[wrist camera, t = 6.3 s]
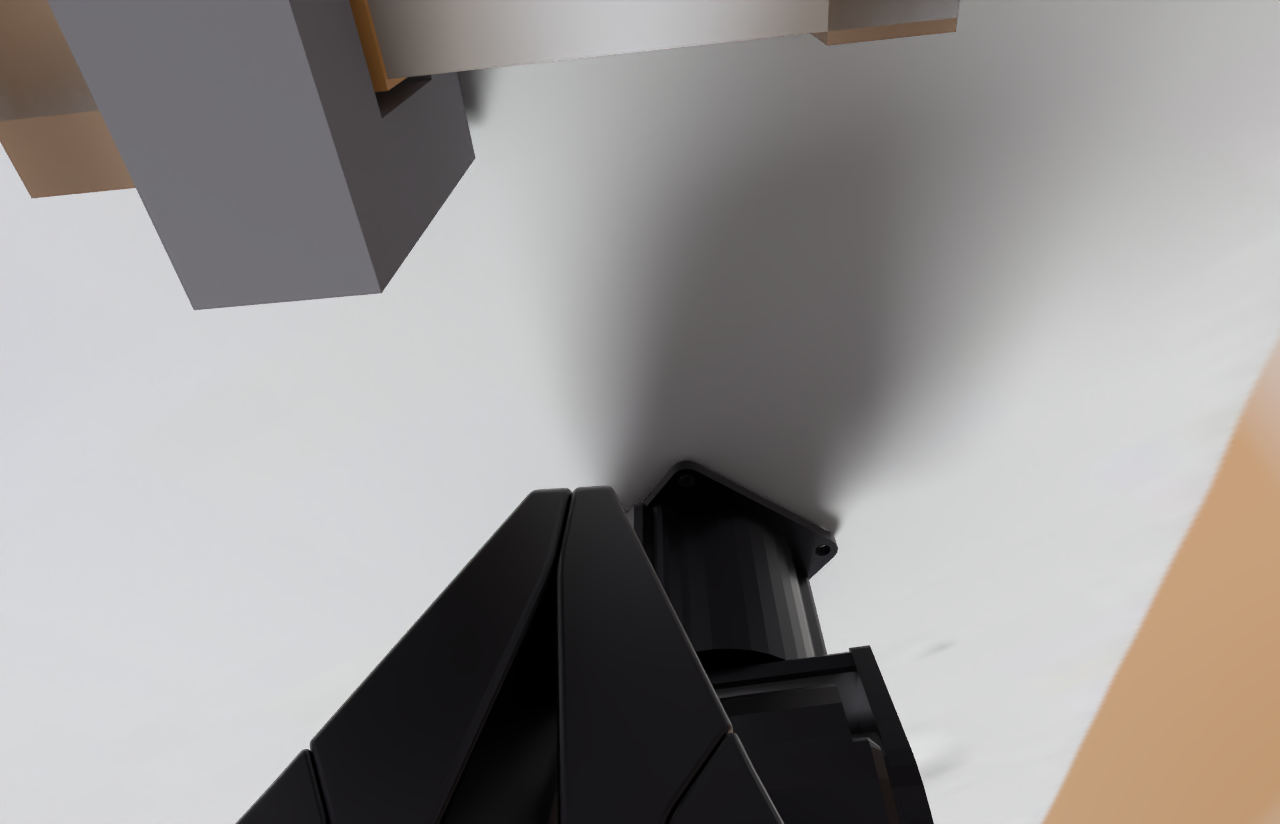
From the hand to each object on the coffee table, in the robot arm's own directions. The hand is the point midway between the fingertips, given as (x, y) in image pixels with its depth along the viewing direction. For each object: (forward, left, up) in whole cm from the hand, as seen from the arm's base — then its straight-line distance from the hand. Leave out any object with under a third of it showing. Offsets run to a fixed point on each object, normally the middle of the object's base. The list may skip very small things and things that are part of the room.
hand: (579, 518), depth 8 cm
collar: (+7, -1, -13) cm, 14 cm away
